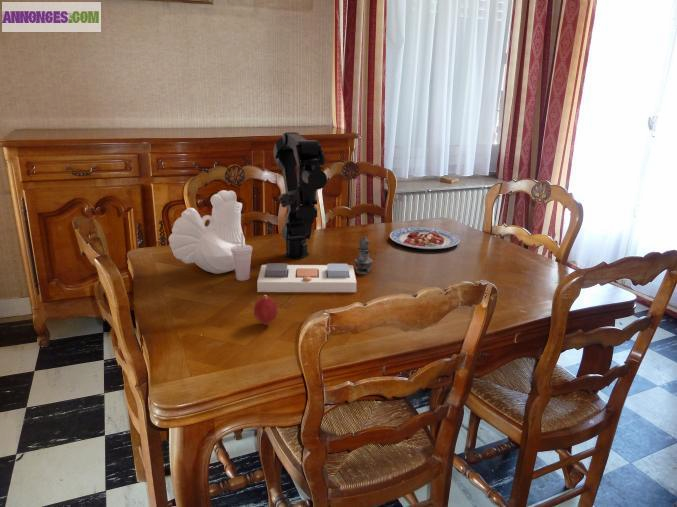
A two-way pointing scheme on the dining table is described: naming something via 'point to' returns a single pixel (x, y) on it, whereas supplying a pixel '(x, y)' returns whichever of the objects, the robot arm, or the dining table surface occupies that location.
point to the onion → (265, 310)
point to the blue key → (337, 271)
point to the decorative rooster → (209, 234)
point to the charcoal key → (276, 270)
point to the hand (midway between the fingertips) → (307, 232)
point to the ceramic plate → (424, 238)
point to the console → (306, 281)
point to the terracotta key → (307, 272)
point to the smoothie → (242, 260)
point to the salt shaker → (363, 257)
